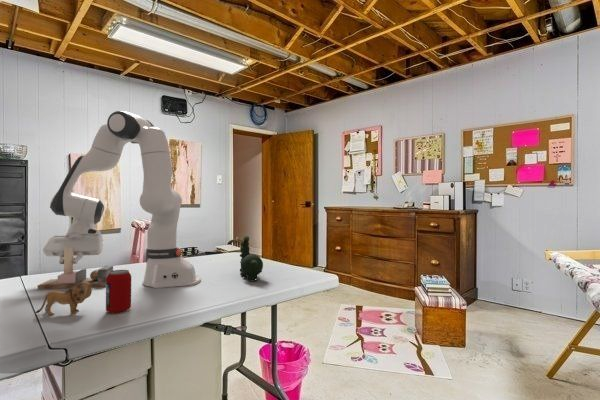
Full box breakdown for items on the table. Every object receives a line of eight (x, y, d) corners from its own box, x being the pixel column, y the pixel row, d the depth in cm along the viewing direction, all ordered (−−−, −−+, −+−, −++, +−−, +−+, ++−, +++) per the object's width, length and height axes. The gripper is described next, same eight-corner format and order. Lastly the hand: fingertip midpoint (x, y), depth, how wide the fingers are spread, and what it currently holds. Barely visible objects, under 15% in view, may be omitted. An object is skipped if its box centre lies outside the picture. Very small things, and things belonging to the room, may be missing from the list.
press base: (116, 280, 139) (116, 265, 139) (108, 286, 130) (108, 269, 130) (51, 282, 134) (51, 266, 134) (37, 289, 124) (37, 271, 124)
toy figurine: (234, 276, 156) (244, 284, 133) (234, 236, 158) (244, 236, 135) (254, 275, 160) (267, 282, 136) (254, 235, 161) (266, 236, 138)
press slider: (86, 278, 136) (87, 246, 136) (78, 282, 128) (78, 249, 128) (67, 278, 134) (67, 246, 135) (57, 283, 127) (58, 249, 127)
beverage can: (112, 307, 104) (112, 269, 104) (134, 307, 105) (135, 269, 105) (101, 314, 97) (101, 274, 98) (125, 314, 98) (125, 273, 98)
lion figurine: (94, 308, 103) (94, 279, 103) (88, 314, 98) (88, 283, 98) (39, 312, 99) (40, 282, 100) (29, 318, 94) (30, 286, 94)
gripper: (48, 231, 136) (34, 259, 126) (103, 230, 140) (94, 257, 130) (53, 240, 140) (40, 268, 130) (107, 240, 144) (98, 266, 135)
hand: (67, 263), depth 130 cm, fingers closed on press slider, 3 cm apart
